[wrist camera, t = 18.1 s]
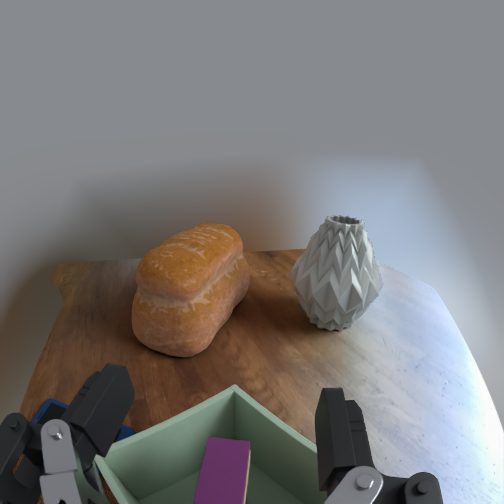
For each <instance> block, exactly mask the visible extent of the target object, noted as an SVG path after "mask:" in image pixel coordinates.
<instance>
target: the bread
mask: <svg viewBox="0 0 504 504" xmlns="http://www.w3.org/2000/svg"><path fill="white" fill-rule="evenodd" d="M242 251H243V244H242V241H241V239H240V236H239V235H238V234H237V233H236V231H235V230H234V229H233V228H231V227H229V226H227V225H220V224H212V223H203V224H198V225H196V226H194V227H193V228H191V229H190V230H186V231H183V232H180V233H178V234H176V235H174V236H172V237H170V238H168V239H166V240H165V241H164V242H162V243H161V244H160V245H159V246H158V247H157V248H154V249H152V250H150V251H149V252H148V253H147V254H146V255H145V256H144V258H143V259H142V260H141V262H140V263H139V266H138V269H137V272H136V283H137V285H138V288H137V292H136V294H135V296H134V300H133V306H132V327H133V332H134V334H135V336H136V337H137V339H138V340H139V341H140V342H141V343H143V344H144V345H146V346H147V347H148V348H150V349H153V350H155V351H159V352H162V353H164V354H167V355H170V356H177V357H192V356H194V355H196V354H198V353H200V352H202V351H203V350H205V349H206V348H207V347H208V346H209V344H210V343H211V341H212V340H213V338H214V336H215V334H216V333H217V332H218V331H219V329H220V328H221V327H222V326H223V325H224V324H225V322H226V321H227V320H228V319H229V317H230V315H231V314H232V311H233V308H234V307H235V306H236V305H237V304H238V303H239V302H240V301H241V300H242V299H243V298H244V296H245V295H246V293H247V290H248V286H249V282H250V270H249V266H248V263H247V261H246V260H245V258H244V256H243V254H242Z"/></svg>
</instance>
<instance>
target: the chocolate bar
mask: <svg viewBox="0 0 504 504" xmlns="http://www.w3.org/2000/svg"><path fill="white" fill-rule="evenodd" d="M250 452H251V450H250V441H244V440H234V439H225V438H217V437H208V440H207V444H206V449H205V453H204V457H203V461H202V466H201V470H200V474H199V479H198V483H197V487H196V491H195V496H194V500H193V504H247V493H248V476H249V467H250Z"/></svg>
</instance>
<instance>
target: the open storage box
mask: <svg viewBox="0 0 504 504" xmlns="http://www.w3.org/2000/svg"><path fill="white" fill-rule="evenodd" d="M208 437H217V438H225V439H234V440H244V441H250V450H251V452H250V467H249V476H248V493H247V504H323V503H324V502H325V501H326V500H327V491H319V479H318V462H317V446H316V445H315V444H314V443H312V442H311V441H309V440H308V439H307V438H305V437H304V436H302V435H301V434H299V433H298V432H296V431H295V430H294V429H292V428H291V427H289V426H288V425H287V424H285V423H284V422H283V421H281V420H280V419H278V418H277V417H276V416H274V415H273V414H272V413H271V412H269V411H268V410H267V409H265V408H264V407H263V406H261V405H260V404H259V403H258V402H256V401H255V400H254V399H253V398H251V397H250V396H249V395H248V394H246V393H245V392H244V391H243V390H241V389H240V388H239V387H238V386H237V385H233V386H231V387H230V388H228V389H226V390H224V391H222V392H220V393H219V394H217V395H215V396H213V397H211V398H209V399H208V400H206V401H204V402H202V403H200V404H198V405H196V406H194V407H192V408H190V409H188V410H186V411H184V412H182V413H180V414H178V415H176V416H174V417H172V418H170V419H168V420H166V421H164V422H162V423H160V424H157V425H155V426H153V427H151V428H149V429H146V430H144V431H142V432H140V433H137V434H135V435H133V436H130V437H128V438H125V439H123V440H120V441H118V442H115V443H113V444H112V445H111V447H110V449H109V451H108V453H107V455H106V458H104V457H101V456H99V455H96V456H95V458H94V460H95V462H96V464H97V466H98V468H99V470H100V472H101V473H102V475H103V477H104V479H105V481H106V483H107V484H108V486H109V488H110V490H111V491H112V493H113V495H114V496H115V498H116V500H117V501H118V503H119V504H193V500H194V496H195V491H196V487H197V483H198V479H199V474H200V470H201V466H202V461H203V457H204V453H205V449H206V444H207V440H208Z"/></svg>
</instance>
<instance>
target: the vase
mask: <svg viewBox="0 0 504 504" xmlns="http://www.w3.org/2000/svg"><path fill="white" fill-rule="evenodd" d="M289 275H290V278H291V281H292V283H293V286H294V288H295V291H296V294H297V298H298V300H299V303H300V305H301V307H302V310H303V311H305V312H306V313H307V317H309V318H310V323H313V324H316V325H317V327H318V328H326V329H327V330H329V331H332V330H334V329H336V330H340V331H342V329H343V328H344V327H350V326H351V324H352V323H353V322H354V321H355V320H356V319H358V318H359V317H360V316H362V315H363V314H364V313H365V311H366V310H367V308H368V307H369V305H370V304H371V303H372V302H373V301H374V300H375V299H376V298H377V297H378V295H379V292H380V290H381V288H382V287H383V281H382V278H381V274H380V271H379V267H378V265H377V263H376V261H375V256H374V251H373V246H372V243H371V241H370V240H369V238H368V234H367V230H366V229H365V223H364V222H362V220H357V218H351V217H349V216H346V217H343V216H340V215H339V216H334V215H332V216H331V217H329V216H327V218H326V219H325V222H324V223H323V224H322V225H320V228H319V230H318V231H317V232H316V233H315V234H314V235H313V236H312V237H311V239H310V241H309V243H308V246H307V248H306V250H305V252H304V253H303V254H302V255H301V256H300V257H299V258H298V260H297V261H296V263H295V265H294V267H293V269H292V270H291V272H290V274H289Z"/></svg>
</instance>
